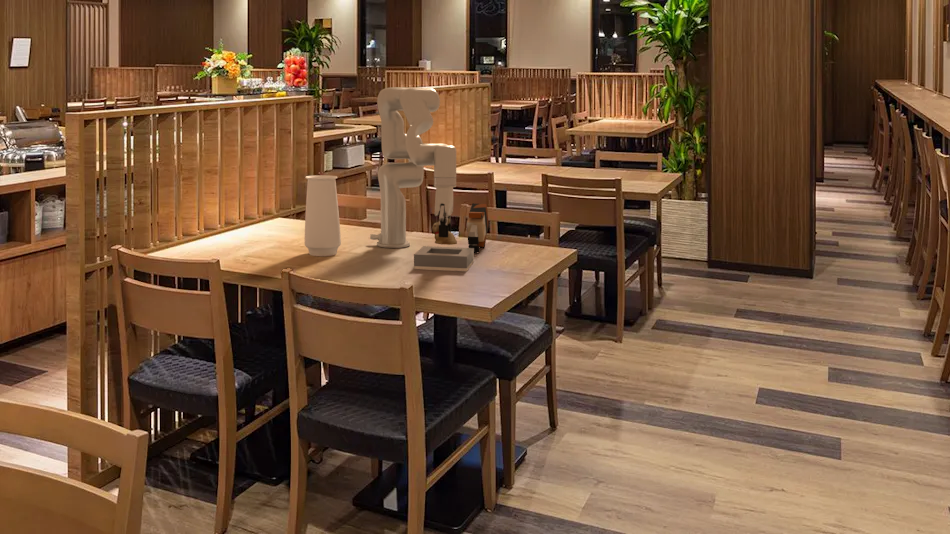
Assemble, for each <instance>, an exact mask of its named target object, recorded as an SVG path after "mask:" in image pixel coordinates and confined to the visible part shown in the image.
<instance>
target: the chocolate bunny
mask: <svg viewBox="0 0 950 534" xmlns="http://www.w3.org/2000/svg"><path fill="white" fill-rule="evenodd" d="M444 216H445V215H444ZM445 219H446V218H445ZM445 221H446V220H445ZM449 223H450V219H449V218H448V224H449ZM448 224H447V225H448ZM432 232H433V233H434V239H435V241H434V244H436V245H444V246H445V245H448V246H449V245H457V244H458V240H457V239H456V237H455V234H454V233H452V231H451V232H450V231H448V237H439V220H438V221H437V222H434V223H433V224H432Z"/></svg>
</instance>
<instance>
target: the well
mask: <svg viewBox="0 0 950 534" xmlns="http://www.w3.org/2000/svg"><path fill="white" fill-rule="evenodd" d="M474 259H475V253H474V248H469V247H456V246H455V247H454V246H453V247H452V246H449V247H448V246H429V245H427V246H426V245H425V246H424V245H423V246H422V247H421V248H419V250H417V251H416V252H415V253H414V254H413V270H424V271H425V270H427V271H428V270H429V271H452V272H468V271H469V269H470V268H471V267H472V265H473V264H474V262H475V260H474Z"/></svg>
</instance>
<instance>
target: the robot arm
mask: <svg viewBox="0 0 950 534" xmlns="http://www.w3.org/2000/svg"><path fill="white" fill-rule="evenodd" d="M376 100H377V101H376V102H377V111H378V113H379V117H380V125H381V130H380V131H381V152H382V156H383V157H384V158H386V159H389V160H408V162H389V163H388V162H387V163H385V164H384V163H383V164H382V165H380V167H379V168H378V170H377V179H378V185H379V191H380V233H378V234H373V233H371V234H370V235H369V237H370V240H372V241H374V240H376V241H377V242H376V245H377V247H380V248H384V249H385V248H386V249H399V248H407V247H409V246H410V244H411V242H410V241H408V240H407V232H406V231H407V229H406V228H407V218H406V217H407V208H406V207H407V204H406V203H407V202H406V201H407V200H406V197H405V196H404V194H403V192H402V191H401V189H403V188H404V189H405V188H418V187H420V186H421V185H422V184H423V181H424V175H425V174H424V173H425V172H424V171H425V167H427V166H429V167H430V166H433V187H435V199H434V201H435V202H434V216H435V217H439V218H438V221H439V237H448V231H450V232H451V233H452V223H451V221H452V218H451V217H452V214H453V212H454V188H456V187H457V148H456V147H455V146H454V145H448V144H446V143H442V142H441V143H438V142H437V143H430V142H429V143H424V142H423V140H422V138H421V135H422V134H424V133H426V132H428V131H429V130H430V129H431V128H432V126H433V125H434V118H433V115H432V114H431V113H434V112H437V111H438V110H439V108H440V105H441V99H440V95H439V93H438V91H436V90H435V89H434V88H431V87H425V88H424V87H404V86H402V87H398V86H396V87H395V86H394V87H393V86H392V87H385V88H383V89H381V90H380V91H379V93H378V95H377V99H376ZM399 111H400V112H402V111H403V113H404V116H405V118H406V121H407V123H408V125H409V127H408V129H407V131H406V133H405V121H404V118H403V116H402V115H401V114H400V112H399ZM444 215H445V216H444ZM445 218H446V219H445ZM448 218H449V219H450V223H449V224H448ZM445 220H446V221H445ZM447 224H448V225H447Z"/></svg>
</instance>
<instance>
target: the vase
mask: <svg viewBox="0 0 950 534" xmlns="http://www.w3.org/2000/svg"><path fill="white" fill-rule="evenodd" d="M305 179H306V180H307V183H306V185H307V186H306V200H305V218H304V221H305V222H304V246H305V247H306V248H307V249H308V253H309V255H310V256H312V257H330V256H335V255H337V254H338V249H339V247H340V246H341V245H342V240H341V239H342V238H341V235H342V234H341V224H340V212H339V210H340V209H339V202H338V193H337V192H338V191H337V183H336V179H338V176H337V175H328V174H325V175H324V174H322V175H321V174H319V175H318V174H316V175H315V174H313V175H307V176H305Z"/></svg>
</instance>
